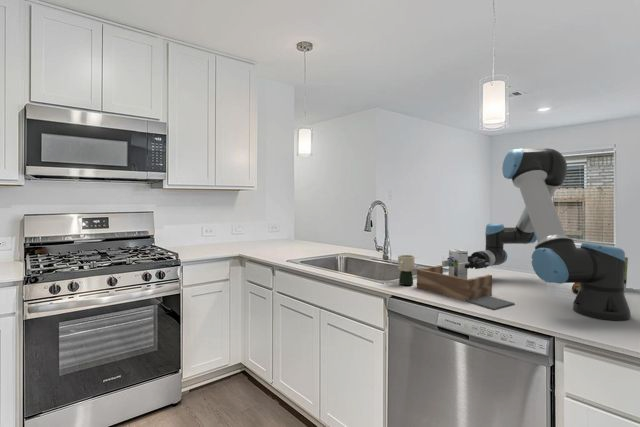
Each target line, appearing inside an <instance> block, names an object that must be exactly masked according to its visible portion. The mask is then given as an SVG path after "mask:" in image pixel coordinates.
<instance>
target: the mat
mask: <svg viewBox="0 0 640 427" xmlns="http://www.w3.org/2000/svg"><path fill="white" fill-rule="evenodd" d="M466 302H467V303H470V304H473V305H476V306H480V307H483V308H486V309H489V310H493V311H496V310H499V309H503V308H507V307H510V306H515V302H512V301H509V300H505V299H501V298H497V297H494V296H492V295H490V296H487V295H485V296H482V297H478V298H475V299H471V300H466V299H465V303H466Z"/></svg>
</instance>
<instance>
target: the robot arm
mask: <svg viewBox="0 0 640 427" xmlns="http://www.w3.org/2000/svg"><path fill="white" fill-rule="evenodd" d="M501 170H502V171H501V172H502V176H503V177H504V178H505V179H506V180H507V179H508V180H511V181H512V184H513V186H514V187H515V188H518V189H519V190H520V194H521V197H522V199H523V203H524V205H525V206H524V208H523V211H522V212H521V215H520V217H519V219H518V221H517V223H516V226H515V227H505V225H504V224H503V223H498V222H495V223H493V222H491V223H490V222H489V223H487V224H486V227H485V232H484V233H485V249H484V250H479V251H475V252H473V253H472V254H470V255H468V262H464V263H458V270H464V269H467V270H469V269H471V270H472V269H475V270H479V269H480V270H481V269H487V268H488V267H493V266H500V265H502V264H505V263H506V262H507V259H508V253H507V251H506V250H505V249H504V246H505V244H506V245H508V244H509V245H510V244H511V245H512V244H514V245H515V244H517V245H519V244H520V245H523V244H524V245H527V244H535V243H536V242H537V244H536V245H535V246H534V249H535V250H534V251H533V253H532V255H531V259H532V260H531V266H532V268H533V271H534V273H535V274H536V275H537V277H539V280H542V281H544V282H545V283H549V284H550V283H552V284H561V285H562V284H574V283H580V289H579V291H578V293H577V294H576V296H575V298H574V301H573V302H572V303H573V305H572V310H573V311H575V312H576V313H578V314H580V315H584V316H586V317H590V318H594V319H601V320H607V321H626V320H630V319H631V310H630V306H629V304H628V300H627V298H626V296H625V292H624V277H625V263H626V261H625V257H626V252H625V251H624V249H622V248H620V247H616V246H609V245H604V244H603V245H602V244H595V243H588V242H583V243H581V245H580V247H577V246H576V243H575V242H574V239H573V238H571V237H569V236H567V235H566V233H565V230H564V228H563V225H562V221H561V220H560V217H559V215H558V211H557V209H556V206H555V204H554V201H553V199H552V198H553V196H554V194H555V192H556V191H557V188H558V187H561V186H562V185H563V183H564V182H565V180H566V177H567V172H568V163H567V160H566V158H565V157H564V156H563V154H562V152H560V151H558V150H556V149H554V148H548V147H547V148H521V147H520V148H514V149H511V150H509V151H508V152H507V153H506V155H505V156H504V159H503V161H502V168H501ZM441 266H442V267H443V268H445V267H449V257H447V258H446V259H444V260H443V259H442V260H441Z"/></svg>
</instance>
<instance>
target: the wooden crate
mask: <svg viewBox="0 0 640 427" xmlns="http://www.w3.org/2000/svg"><path fill="white" fill-rule="evenodd" d="M443 269H444V267H442V264H441V265H434V266H429V267H424V268H418V269H416V288H417V289H420V290H424V291H428V292H430V293H431V292H432V293H435V294H439V295H443V296H447V297H450V298H453V299H458V300H461V301H465V299H466V300H471V299H475V298H478V297H482V296H485V295H487V296H492V295H493V275H492V274H486V275H485V274H484V275H482V276H477V277H473V278H467V279H463V278H459V277H454V276H449V275H448V274H444V273H443ZM465 302H466V301H465Z"/></svg>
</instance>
